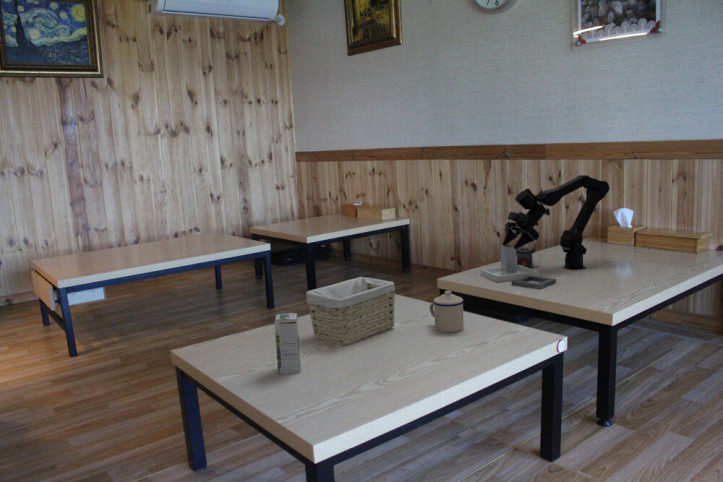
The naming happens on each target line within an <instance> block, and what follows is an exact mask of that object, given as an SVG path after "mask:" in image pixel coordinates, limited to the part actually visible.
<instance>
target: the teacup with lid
mask: <svg viewBox="0 0 723 482" xmlns="http://www.w3.org/2000/svg"><path fill="white" fill-rule="evenodd" d="M464 303H465V302H464V299H463V298H462V297H461V296H457V295H456V294H453V293H452V290H446V291H444V294H441V295H440V296H437V297H435V298H434V299H433V302H431V303H430V305H429V312H430V314H431V316H432V317H433V318H434V328H435V331H438V332H440V333H447V334H448V333H451V334H452V333H457V332H460V331H462V330H464V328H465V327H464V323H465V322H464Z"/></svg>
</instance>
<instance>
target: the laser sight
mask: <svg viewBox="0 0 723 482" xmlns="http://www.w3.org/2000/svg"><path fill="white" fill-rule="evenodd" d="M512 245H513V246H515V243H512ZM536 247H537V243H534V246H533V248H528V247H521V249H519V248H517V249H516V265H522V266H524V267H527V268H530V269H531V267H532V266H533V254H535V253H537V248H536Z"/></svg>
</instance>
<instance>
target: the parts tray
mask: <svg viewBox="0 0 723 482" xmlns="http://www.w3.org/2000/svg"><path fill="white" fill-rule="evenodd" d="M479 273H480V276H481V277H484V278H485V279H488V280H491V281H493V282H495V283H505V282H512V281H514V280H517V279H519V278H522V277H525V276H528V275H529V276H537V277H539V271H538V270H535V269H532V268H531V267H530V268H527V267H524V266H522V265H517V264H516V274H508V275H501V266H499V267H498V266H497V267H490V268H481V269H480V270H479Z"/></svg>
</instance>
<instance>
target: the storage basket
mask: <svg viewBox="0 0 723 482" xmlns="http://www.w3.org/2000/svg"><path fill="white" fill-rule="evenodd" d="M369 287H371V289H370V288H369ZM395 296H396V286H395V283H394V281H389V280H384V279H379V278H372V277H364V276H359V277H356V278H352V279H347V280H343V281H341V282H337V283H334V284H331V285H325V286H322V287H318V288H316V289H315V288H314V289H312V290H311V289H310V290H308V291H306V292H305V297H306V303H307V306H308V309H309V315H310V318H311V321H310V322H311V325H312V330H313V336H314V337H315V338H316V339H319V340H321V341H322V340H323V341H326V342H327V343H332V344H335V345H336V344H337V345H338V346H347V345H351V344H353V343H355V342H359V341H361V340H364V339H365V338H369V337H371V336H373V335H376V334H378V333H382V332H384V331H387V330H389V329H392V328H394V327H395Z"/></svg>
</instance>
